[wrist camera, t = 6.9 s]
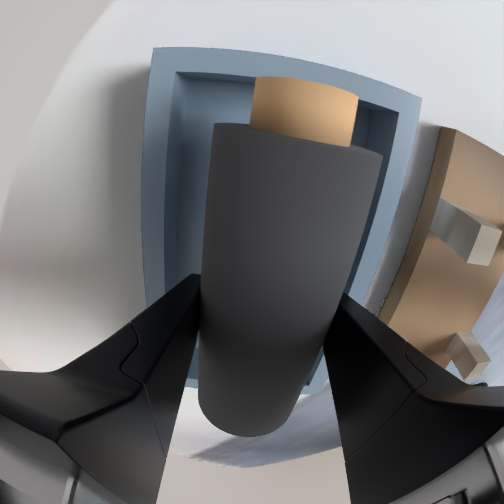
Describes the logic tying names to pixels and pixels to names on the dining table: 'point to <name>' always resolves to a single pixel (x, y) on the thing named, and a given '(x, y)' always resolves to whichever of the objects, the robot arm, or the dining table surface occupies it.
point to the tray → (239, 111)
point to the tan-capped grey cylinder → (277, 248)
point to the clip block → (452, 255)
